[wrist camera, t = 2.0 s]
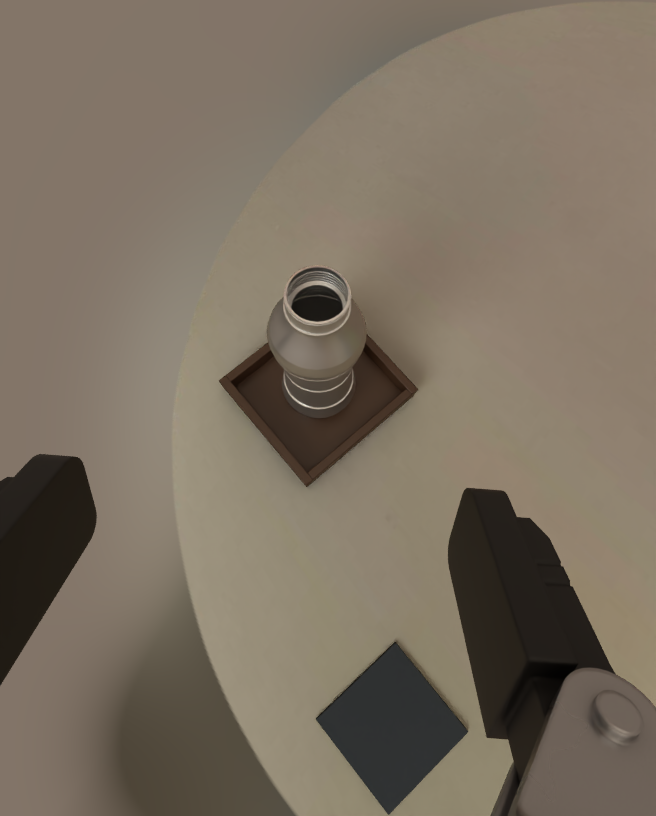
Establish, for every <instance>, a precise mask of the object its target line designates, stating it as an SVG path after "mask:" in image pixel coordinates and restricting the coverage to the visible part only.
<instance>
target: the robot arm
mask: <svg viewBox="0 0 656 816" xmlns="http://www.w3.org/2000/svg"><path fill="white" fill-rule="evenodd" d="M96 516H97V515H96V508H95V505H94V501H93V497H92V494H91V490H90V486H89V483H88V479H87V475H86V472H85V468H84V465H83V462H82V461H81V460H80V458H78V457H71V456H58V455H45V454H39V455H36V456H34V457H33V458H32V459H31V460H30V461H29V462H28V463H27V464H26V465H25V466H24V467H23V468H22V469H21V470H20V471H19V472H18V473H17V475H15V477H7V478H5V479H3V480H2V481H0V685H1V684H2V682H3V680H4V679H5V677H6V676H7V674H8V672H9V671H10V669H11V667H12V666H13V664H14V663H15V661H16V659H17V658H18V656H19V655H20V653H21V651H22V650H23V648H24V646H25V645H26V643H27V641H28V640H29V638H30V637H31V635H32V633H33V632H34V630H35V629H36V627H37V626H38V624H39V622H40V621H41V619H42V617H43V616H44V614H45V613H46V611H47V609H48V608H49V606H50V605H51V603H52V601H53V600H54V598H55V597H56V595H57V593H58V592H59V590H60V588H61V587H62V585H63V583H64V582H65V580H66V579H67V577H68V575H69V574H70V572H71V570H72V569H73V568H74V566H75V564H76V563H77V561H78V559H79V558H80V556H81V554H82V553H83V551H84V550H85V548H86V546H87V545H88V543H89V542H90V540H91V538H92V536H93V533H94V530H95V525H96ZM448 563H449V570H450V574H451V579H452V583H453V588H454V592H455V597H456V601H457V606H458V610H459V615H460V619H461V624H462V628H463V633H464V637H465V642H466V646H467V651H468V655H469V660H470V664H471V669H472V673H473V678H474V682H475V687H476V691H477V696H478V700H479V705H480V709H481V714H482V718H483V723H484V727H485V732H486V736H487V738H497V739H508V740H509V744H510V748H511V752H512V756H513V760H514V762H513V763H512V765H511V767H510V770H509V772H508V774H507V777H506V779H505V782H504V784H503V787H502V789H501V792H500V794H499V796H498V799H497V801H496V804H495V806H494V809H493V811H492V813H491V816H656V708H655V706H654V705H653V704H652V703H651V701H650V700H649V699H648V698H647V697H646V696H645V695H644V694H643V693H642V692H641V691H640V690H638V689H637V688H636V687H635V686H634V685H632V684H631V683H629V682H628V681H626V680H625V679H623V678H621V677H619V676H618V675H616V674H615V672H614V671H613V669H612V667H611V665H610V664H609V661H608V659H607V657H606V655H605V653H604V651H603V649H602V647H601V645H600V643H599V641H598V639H597V636H596V634H595V632H594V630H593V628H592V626H591V624H590V622H589V620H588V618H587V616H586V613H585V611H584V609H583V607H582V605H581V603H580V601H579V599H578V597H577V595H576V593H575V591H574V588H573V587H571V586H570V580H569V578H568V576H567V574H566V572H565V570H564V568H563V567H561V564H560V563H561V561H560V559H559V557H558V555H557V553H556V551H555V549H554V547H553V545H552V543H551V540H550V539H549V538H548V536H547V535H546V534H545V533H544V532H543V531H542V530H541V529H540V528H539V527H538V526H537V525H536V524H535V523H534V522H533V521H532V520H531V519H530V518H521V517H516V514H515V512H514V510H513V507H512V505H511V502H510V500H509V498H508V496H507V494H506V493H505V492H504V491H501V490H488V489H475V488H466V489H465V490H464V492H463V495H462V498H461V501H460V505H459V508H458V511H457V515H456V518H455V522H454V525H453V529H452V532H451V535H450V539H449V546H448Z"/></svg>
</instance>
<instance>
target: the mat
mask: <svg viewBox="0 0 656 816" xmlns="http://www.w3.org/2000/svg"><path fill="white" fill-rule="evenodd" d="M316 720H317V721H318V723H319V724H320V725H321V727H322V728H323V729H324V730H325V732H326V733H327V734H328V736H329V737H330V738H331V740H332V741H333V742H334V744H335V745H336V746H337V748H338V749H339V750H340V752H341V753H342V754H343V756H344V757H345V758H346V759H347V761H348V762H349V763H350V765H351V766H352V767H353V769H354V770H355V771H356V773H357V774H358V775H359V777H360V778H361V779H362V781H363V782H364V783H365V785H366V786H367V787H368V788H369V790H370V791H371V792H372V794H373V795H374V796H375V798H376V799H377V800H378V802H379V803H380V804H381V806H382V807H383V808H384V810H385V811H386V812H387V813H388V815H389V814H390V813H391V812H392V811H393V810H394V809H395V808H396V807H397V806H398V805H399V804H400V802H401V801H402V800H403V799H404V798H405V797H406V796H407V795H408V794H409V793H410V792H411V791H412V790H413V789H414V788H415V787H416V786H417V785H418V784H419V783H420V782H421V781H422V780H423V778H424V777H425V776H426V775H427V774H428V773H429V772H430V771H431V770H432V769H433V768H434V767H435V766H436V765H437V764H438V763H439V762H440V761H441V760H442V759H443V758H444V757H445V755H446V754H447V753H448V752H449V751H450V750H451V749H452V748H453V747H454V746H455V745H456V744H457V743H458V742H459V741H460V740H461V739H462V738H463V737H464V736H465V735H466V734H467V732H468V731H467V729H466V728H465V727H464V726H463V724H462V723H461V722H460V721H459V720H458V718H457V717H456V716H455V715H454V713H453V712H452V711H451V710H450V709H449V707H448V706H447V705H446V704H445V702H444V701H443V700H442V699H441V698H440V696H439V695H438V694H437V693H436V691H435V690H434V689H433V688H432V687H431V685H430V684H429V683H428V682H427V680H426V679H425V678H424V677H423V676H422V674H421V673H420V672H419V671H418V669H417V668H416V667H415V666H414V664H413V663H412V662H411V661H410V660H409V658H408V657H407V656H406V655H405V653H404V652H403V651H402V650H401V649H400V647H399V646H398V645H397V644H396V642H395V643H394V644H393V645H392V646H391V647H390V648H389V649H388V650H386V651H385V652H384V653H383V654H382V655H381V656H380V657H379V658H378V659H377V660H376V661H375V662H374V663H373V664H372V665H371V666H370V667H369V668H368V669H367V670H366V671H365V672H364V673H363V674H362V675H361V676H360V677H359V678H358V679H356V680H355V681H354V682H353V683H352V684H351V685H350V686H349V687H348V688H347V689H346V690H345V691H344V692H343V693H342V694H341V695H340V696H339V697H338V698H337V699H336V700H335V701H334V702H333V703H332V704H331V705H330V706H329V707H328V708H326V709H325V710H324V711H323V712H322V713H321V714H320V715H319V716H318V717H317V718H316Z"/></svg>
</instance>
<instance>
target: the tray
mask: <svg viewBox="0 0 656 816" xmlns="http://www.w3.org/2000/svg"><path fill="white" fill-rule="evenodd" d="M352 368H353V371H354V375H355V382H356V385H355V392H354V395H353V397H352V399H351V401H350V403H349V404H348V405H347V406H346V407H345V408H344V409H343V410H341V411H340V412H339V413H337V414H335V415H333V416H330V417H326V418H312V417H308V416H305V415H303V414H301V413H299V412H298V411H297V410H295V409H294V408H293V407H292V406H291V405H290V404H289V403H288V401H287V399H286V398H285V396H284V392H283V388H282V380H283V372H284V368H283V367H282V366H281V365H280V364H279V363H278V362H277V360H276V359H275V357H274V355H273V353H272V351H271V349H270V347H269V344H268V343H267V344H265V345H264V346H263V347H262V348H260V349H259V350H258V351H256V352H255V353H254V354H253V355H251V356H250V357H249V358H247V359H246V360H245V361H244V362H242V363H241V364H240V365H238V366H237V367H236V368H235V369H233V370H232V371H231V372H229V373H228V374H227V375H226V376H224V377H223V378H222V379H220V380H219V382H220V383H221V385H222V386H223V387H224V389H225V390H226V391H227V392H228V393H229V395H230V396H231V397H232V398H233V399H234V401H235V402H236V403H237V404H238V405H239V407H240V408H241V409H242V410H243V411H244V412H245V414H246V415H247V416H248V417H249V418H250V420H251V421H252V422H253V423H254V424H255V426H256V427H257V428H258V429H259V430H260V432H261V433H262V434H263V435H264V436H265V438H266V439H267V440H268V441H269V442H270V444H271V445H272V446H273V447H274V448H275V450H276V451H277V452H278V453H279V454H280V456H281V457H282V458H283V459H284V460H285V462H286V463H287V464H288V465H289V466H290V468H291V469H292V470H293V471H294V472H295V474H296V475H297V476H298V477H299V478H300V480H301V481H302V482H303V483H304V484H305V486H306V487H308V486H309V485H310V484H311V483H312V482H313V481H315V480H316V479H317V478H318V477H319V476H320V475H322V474H323V473H324V472H325V471H326V470H327V469H329V468H330V467H331V466H332V465H333V464H334V463H336V462H337V461H338V460H339V459H340V458H341V457H343V456H344V455H345V454H346V453H347V452H348V451H350V450H351V449H352V448H353V447H354V446H355V445H357V444H358V443H359V442H360V441H361V440H362V439H364V438H365V437H366V436H367V435H368V434H369V433H371V432H372V431H373V430H374V429H375V428H376V427H378V426H379V425H380V424H381V423H382V422H383V421H385V420H386V419H387V418H388V417H389V416H390V415H392V414H393V413H394V412H395V411H396V410H397V409H399V408H400V407H401V406H402V405H403V404H404V403H406V402H407V401H408V400H409V399H410V398H411V397H413V395H414V394H415V393H416V391H417V390H418V389H417V388H416V387H415V385H414V384H413V383H412V382H411V381H410V380H409V379H408V378H407V377H406V376H405V375H404V374H403V372H402V371H401V370H400V369H399V368H398V367H397V366H396V365H395V364H394V363H393V362H392V361H391V359H390V358H389V357H388V356H387V355H386V354H385V353H384V352H383V351H382V350H381V349H380V348H379V347H378V345H377V344H376V343H375V342H374V341H373V340H372V339H371V338H370V337H369V336H368V335H366V342H365V345H364V349H363V351H362V353H361V355H360V357H359V359H358V360H357V362H356V363H355V364H354V366H353V367H352Z"/></svg>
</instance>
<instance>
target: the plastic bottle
mask: <svg viewBox="0 0 656 816" xmlns="http://www.w3.org/2000/svg"><path fill="white" fill-rule="evenodd" d="M366 335H367V330H366V323H365V320H364V317H363V315H362V313H361V311H360V309H359V308H358V306H357V305H356V303H355V302H354V301H353V300H352V299H351V290H350V287H349V284H348V282H347V280H346V279H345V278H344V277H343V275H342V274H341V273H339V272H338V271H336V270H335V269H332V268H330V267H327V266H321V265H314V266H308V267H304V268H302V269H300V270H298V271H297V272H295V273H294V274H293V275H292V276H291V277H290V279H289V280H288V282H287V284H286V286H285V289H284V297H283V298H282V299H281V300H280V301H279V302H278V303H277V305H276V306H275V308H274V309H273V311H272V313H271V316H270V319H269V321H268V326H267V340H268V344H269V347H270V349H271V351H272V353H273V355H274V357H275V359H276V360H277V362H278V363H279V364H280V365H281V366H282V367H283V368H284V372H283V380H282V388H283V392H284V396H285V398H286V399H287V401H288V403H289V404H290V405H291V406H292V407H293V408H294V409H295V410H297V411H298V412H299V413H301V414H303V415H305V416H308V417H312V418H326V417H330V416H333V415H335V414H337V413H339V412H340V411H341V410H343V409H344V408H345V407H346V406H347V405H348V404H349V403H350V401H351V399H352V397H353V395H354V392H355V385H356V382H355V375H354V371H353V368H352V367H353V366H354V364H355V363H356V362H357V360H358V359H359V357H360V355H361V353H362V351H363V349H364V345H365V342H366Z"/></svg>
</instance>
